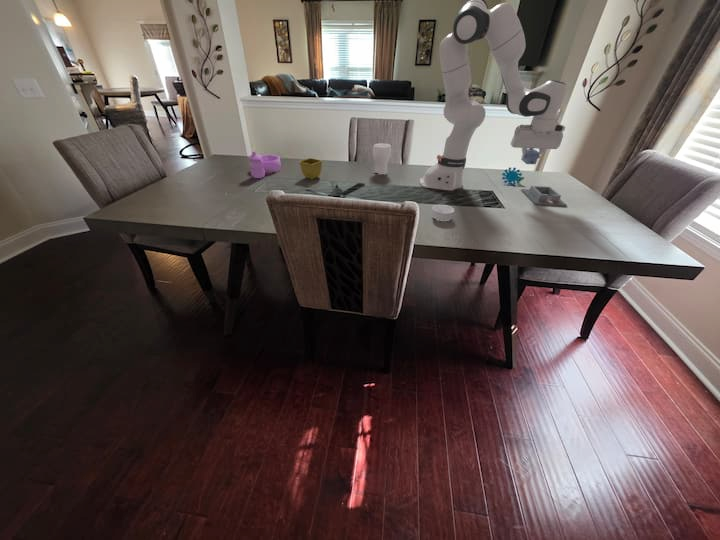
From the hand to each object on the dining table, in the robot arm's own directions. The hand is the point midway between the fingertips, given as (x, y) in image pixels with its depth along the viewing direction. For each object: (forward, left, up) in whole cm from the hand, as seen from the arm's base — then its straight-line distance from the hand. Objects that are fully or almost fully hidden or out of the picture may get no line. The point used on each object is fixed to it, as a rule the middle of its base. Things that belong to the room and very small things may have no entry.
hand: (529, 158), depth 131 cm
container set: (-136, +14, -17) cm, 138 cm away
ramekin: (-41, -33, -17) cm, 56 cm away
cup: (-69, +23, -17) cm, 75 cm away
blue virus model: (+2, +15, -17) cm, 23 cm away
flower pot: (-107, +8, -17) cm, 108 cm away
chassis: (+10, -5, -17) cm, 21 cm away
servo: (0, 0, -2) cm, 2 cm away
